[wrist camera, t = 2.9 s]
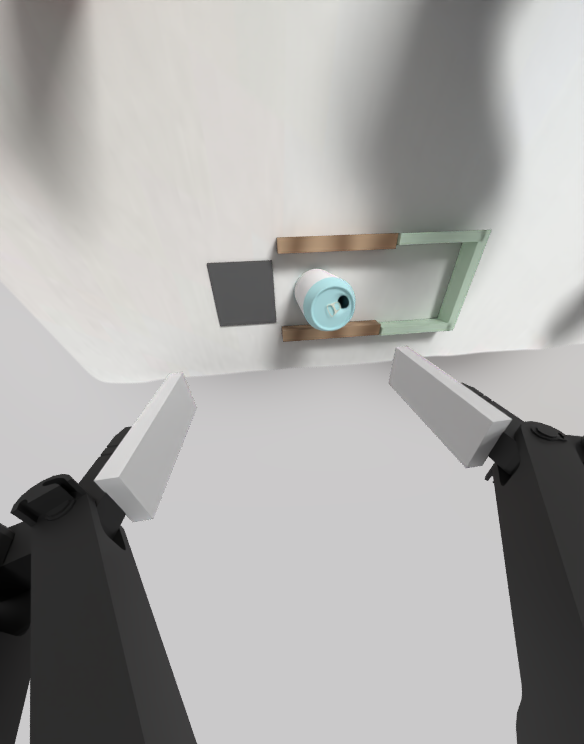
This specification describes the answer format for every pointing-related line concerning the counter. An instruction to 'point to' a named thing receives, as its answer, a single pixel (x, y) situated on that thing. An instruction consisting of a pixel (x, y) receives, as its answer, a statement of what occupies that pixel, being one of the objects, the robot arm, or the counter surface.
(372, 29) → the counter surface
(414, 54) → the counter surface
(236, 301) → the pit mat
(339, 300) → the can
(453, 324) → the corral
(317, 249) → the channel
